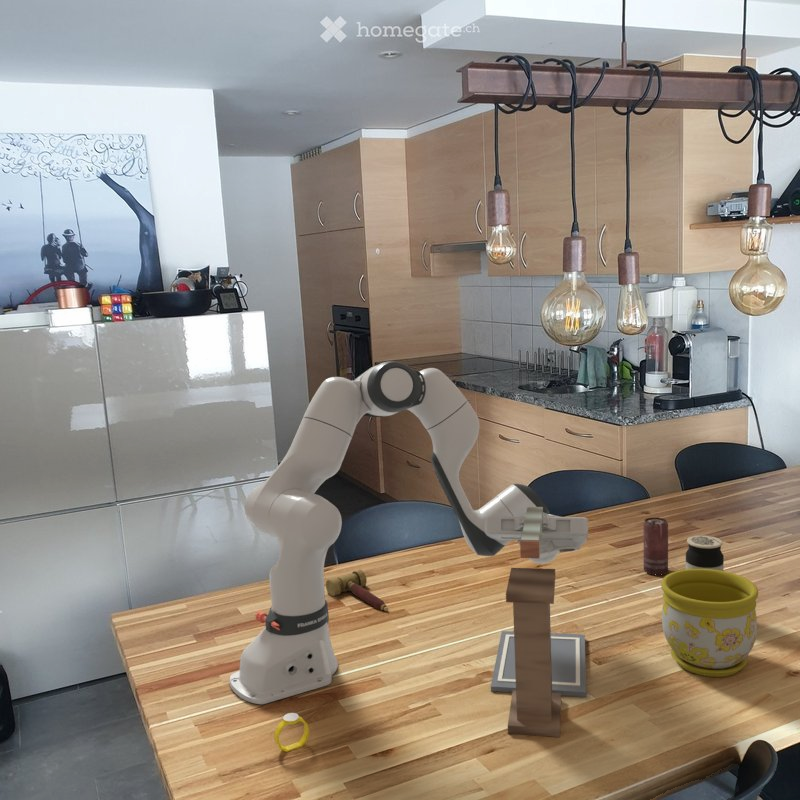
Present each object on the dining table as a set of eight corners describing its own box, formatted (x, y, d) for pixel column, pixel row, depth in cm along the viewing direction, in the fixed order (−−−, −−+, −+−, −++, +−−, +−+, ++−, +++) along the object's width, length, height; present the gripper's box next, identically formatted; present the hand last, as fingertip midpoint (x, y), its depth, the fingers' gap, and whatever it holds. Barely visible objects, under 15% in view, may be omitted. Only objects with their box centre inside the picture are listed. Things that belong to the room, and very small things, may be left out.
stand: (513, 697, 152) (508, 567, 148) (561, 700, 150) (558, 569, 146) (507, 733, 140) (502, 593, 136) (559, 737, 138) (556, 595, 134)
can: (652, 577, 205) (652, 525, 202) (639, 569, 211) (638, 518, 208) (673, 574, 206) (673, 522, 204) (659, 566, 212) (659, 515, 210)
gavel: (403, 595, 195) (369, 607, 190) (404, 612, 196) (370, 624, 191) (357, 566, 212) (324, 576, 206) (357, 582, 213) (325, 593, 207)
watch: (305, 740, 142) (304, 708, 142) (311, 747, 140) (311, 715, 139) (273, 749, 139) (272, 717, 139) (278, 757, 137) (278, 724, 136)
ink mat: (501, 635, 178) (501, 630, 177) (584, 638, 174) (584, 633, 173) (490, 691, 154) (490, 685, 154) (586, 697, 151) (586, 691, 150)
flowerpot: (689, 633, 174) (689, 561, 171) (772, 660, 160) (774, 583, 158) (644, 663, 162) (643, 586, 159) (730, 695, 149) (731, 612, 146)
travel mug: (692, 624, 178) (692, 547, 175) (680, 609, 185) (681, 535, 183) (728, 623, 177) (729, 546, 174) (715, 608, 185) (716, 534, 182)
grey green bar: (539, 558, 138) (538, 541, 137) (520, 558, 138) (520, 541, 138) (543, 521, 157) (543, 507, 156) (527, 521, 158) (526, 506, 157)
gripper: (487, 518, 168) (480, 503, 155) (587, 519, 164) (587, 504, 151) (487, 548, 166) (479, 535, 153) (588, 550, 161) (588, 537, 149)
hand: (533, 520), depth 152 cm, fingers closed on grey green bar, 3 cm apart
